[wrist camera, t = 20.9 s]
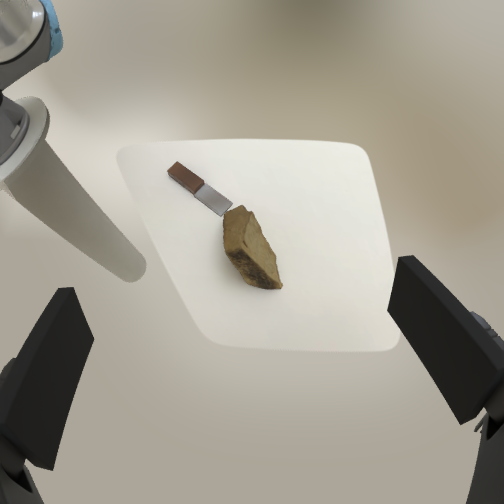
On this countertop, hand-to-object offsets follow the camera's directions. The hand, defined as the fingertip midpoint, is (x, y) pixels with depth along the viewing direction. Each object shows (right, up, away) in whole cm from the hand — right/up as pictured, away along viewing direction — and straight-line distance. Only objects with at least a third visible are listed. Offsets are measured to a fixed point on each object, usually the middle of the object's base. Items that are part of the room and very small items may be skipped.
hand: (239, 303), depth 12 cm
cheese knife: (-7, +10, +30) cm, 32 cm away
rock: (+1, +2, +28) cm, 28 cm away
